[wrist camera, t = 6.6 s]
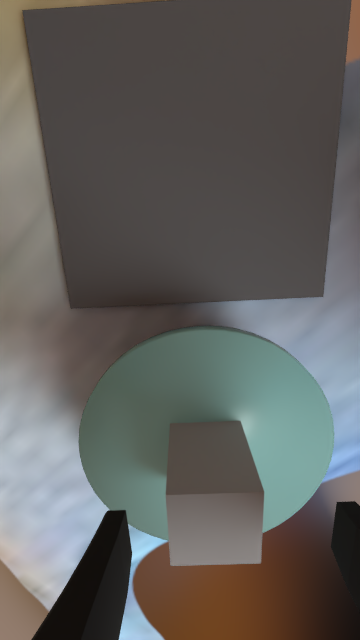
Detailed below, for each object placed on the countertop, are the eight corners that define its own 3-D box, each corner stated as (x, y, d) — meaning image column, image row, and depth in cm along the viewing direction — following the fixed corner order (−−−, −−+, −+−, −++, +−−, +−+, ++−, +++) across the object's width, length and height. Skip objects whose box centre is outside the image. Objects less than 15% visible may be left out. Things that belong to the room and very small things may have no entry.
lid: (339, 320, 13) (427, 362, 8) (314, 527, 16) (367, 639, 12) (66, 331, 13) (3, 379, 8) (100, 533, 17) (68, 646, 12)
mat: (346, -3, 14) (352, -12, 13) (319, 295, 18) (323, 296, 17) (27, 18, 14) (22, 10, 13) (73, 306, 18) (70, 308, 17)
